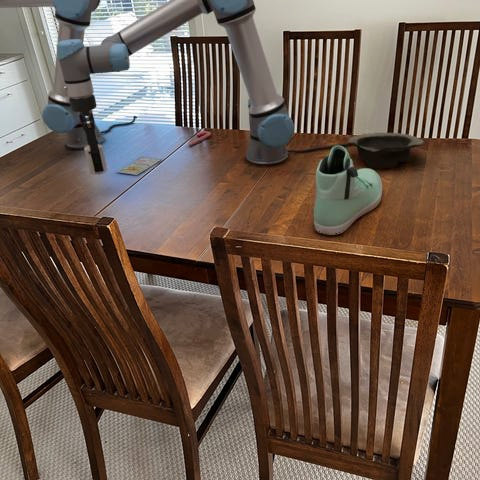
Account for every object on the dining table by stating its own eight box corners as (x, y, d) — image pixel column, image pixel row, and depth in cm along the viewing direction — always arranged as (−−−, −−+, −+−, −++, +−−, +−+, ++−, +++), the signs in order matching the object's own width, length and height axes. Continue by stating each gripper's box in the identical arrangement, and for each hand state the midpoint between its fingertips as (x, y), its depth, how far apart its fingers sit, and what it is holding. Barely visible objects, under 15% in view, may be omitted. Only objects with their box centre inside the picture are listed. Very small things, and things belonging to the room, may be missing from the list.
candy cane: (179, 144, 195) (179, 141, 194) (202, 133, 205) (202, 129, 204) (191, 147, 192) (190, 143, 191) (213, 135, 202) (213, 131, 201)
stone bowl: (381, 179, 153) (381, 151, 149) (333, 161, 173) (332, 136, 169) (438, 160, 162) (440, 133, 157) (386, 145, 182) (386, 120, 178)
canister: (87, 170, 156) (81, 147, 152) (103, 166, 159) (98, 142, 155) (93, 176, 152) (87, 151, 148) (109, 171, 155) (104, 147, 151)
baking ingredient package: (117, 171, 173) (141, 156, 185) (117, 172, 174) (141, 158, 185) (136, 174, 170) (160, 159, 181) (136, 175, 170) (160, 160, 181)
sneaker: (389, 187, 148) (396, 123, 138) (356, 242, 123) (361, 168, 112) (346, 181, 154) (350, 119, 144) (306, 232, 129) (307, 161, 118)
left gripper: (-92, 38, 165) (-67, 100, 176) (-14, 29, 172) (5, 89, 183) (-88, 35, 171) (-65, 95, 182) (-13, 27, 178) (5, 85, 189)
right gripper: (66, 91, 150) (83, 160, 162) (70, 105, 134) (89, 180, 147) (90, 87, 152) (106, 156, 164) (97, 101, 137) (114, 175, 149)
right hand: (98, 167), depth 155 cm, fingers closed on canister, 6 cm apart
